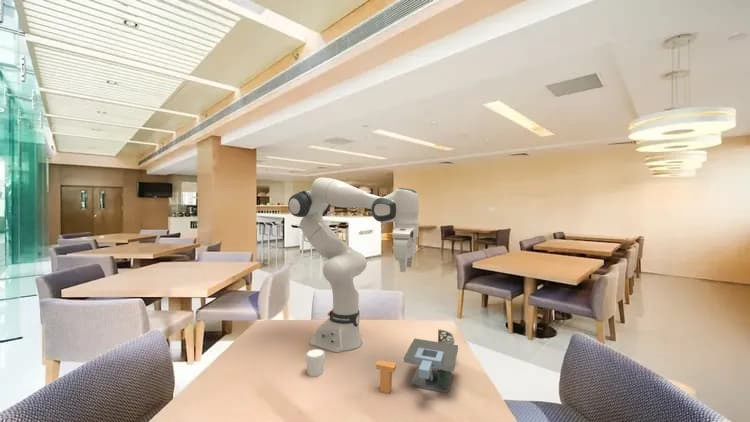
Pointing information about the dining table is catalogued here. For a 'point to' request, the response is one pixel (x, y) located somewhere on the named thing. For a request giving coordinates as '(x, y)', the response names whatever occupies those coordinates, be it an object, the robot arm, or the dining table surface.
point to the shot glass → (315, 362)
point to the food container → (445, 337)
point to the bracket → (427, 361)
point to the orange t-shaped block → (386, 375)
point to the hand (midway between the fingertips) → (406, 269)
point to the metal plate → (437, 378)
